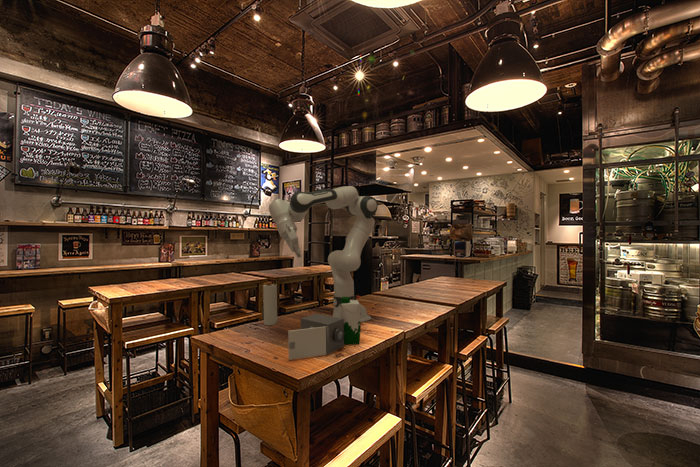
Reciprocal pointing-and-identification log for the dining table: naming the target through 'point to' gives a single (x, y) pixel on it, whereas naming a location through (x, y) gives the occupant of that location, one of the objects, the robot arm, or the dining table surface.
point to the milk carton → (350, 320)
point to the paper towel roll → (270, 304)
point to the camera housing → (334, 328)
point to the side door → (308, 342)
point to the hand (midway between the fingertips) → (299, 254)
